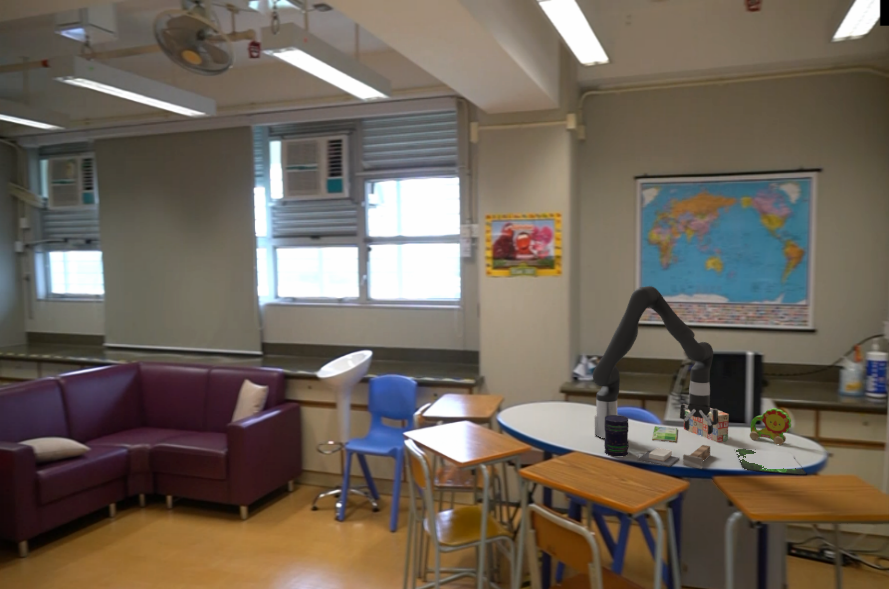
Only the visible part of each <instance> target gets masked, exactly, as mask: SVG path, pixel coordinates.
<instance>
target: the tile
mask: <svg viewBox="0 0 889 589" xmlns="http://www.w3.org/2000/svg"><path fill="white" fill-rule="evenodd" d="M650 452H651V453H649V458H650V459H655V460H660V461H665V460H666V459H667V458H669V457H670V456H672V455H673V451H672V449H667V448H661V447H656V448H655V449H653V450H652V451H650Z"/></svg>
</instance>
